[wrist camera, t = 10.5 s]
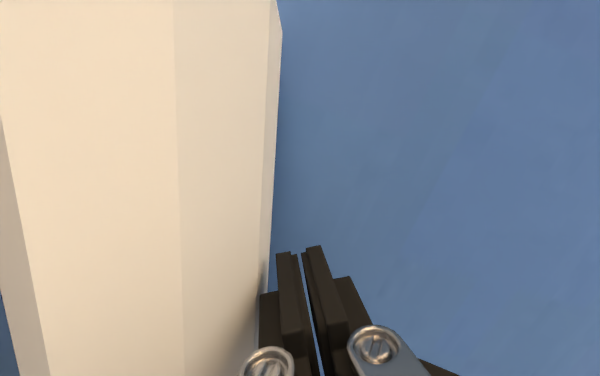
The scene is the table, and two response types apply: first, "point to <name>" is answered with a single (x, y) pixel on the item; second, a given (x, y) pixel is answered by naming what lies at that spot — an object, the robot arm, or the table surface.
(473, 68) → the table surface
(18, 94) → the crystal
